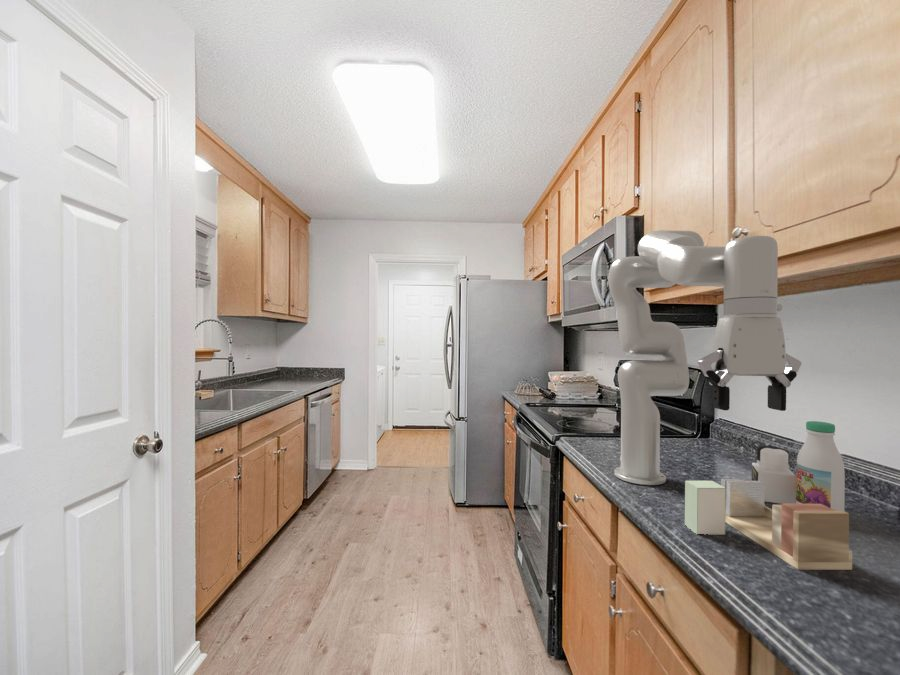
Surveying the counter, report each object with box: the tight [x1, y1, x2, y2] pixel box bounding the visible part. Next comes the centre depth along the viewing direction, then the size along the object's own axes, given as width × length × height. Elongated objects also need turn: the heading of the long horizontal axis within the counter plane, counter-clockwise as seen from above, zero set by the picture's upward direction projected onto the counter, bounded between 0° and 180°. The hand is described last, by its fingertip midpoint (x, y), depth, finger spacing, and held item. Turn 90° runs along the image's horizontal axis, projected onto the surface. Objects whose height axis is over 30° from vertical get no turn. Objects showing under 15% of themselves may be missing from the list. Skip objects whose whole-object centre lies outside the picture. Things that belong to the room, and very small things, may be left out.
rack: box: [725, 503, 853, 571], centre depth 80 cm, size 24×9×9 cm, turn 1°
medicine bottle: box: [751, 445, 796, 505], centre depth 98 cm, size 7×7×12 cm
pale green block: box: [684, 480, 726, 536], centre depth 81 cm, size 4×6×9 cm
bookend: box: [720, 478, 766, 517], centre depth 87 cm, size 5×7×7 cm
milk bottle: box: [795, 420, 846, 511], centre depth 88 cm, size 8×8×20 cm
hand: (748, 409), depth 71 cm, fingers open, 9 cm apart
